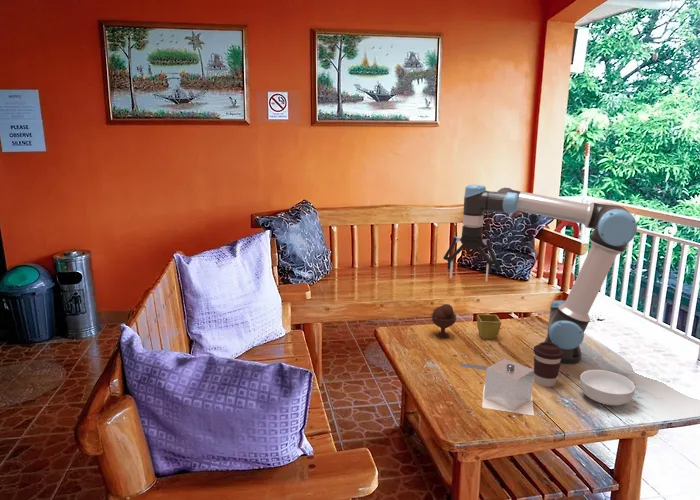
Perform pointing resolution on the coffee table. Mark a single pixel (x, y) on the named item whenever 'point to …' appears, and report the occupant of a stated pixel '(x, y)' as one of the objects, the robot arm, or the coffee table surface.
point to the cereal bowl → (607, 387)
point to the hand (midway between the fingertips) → (468, 279)
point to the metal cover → (508, 384)
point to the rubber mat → (473, 366)
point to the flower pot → (488, 325)
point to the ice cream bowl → (443, 319)
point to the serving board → (523, 409)
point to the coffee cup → (547, 363)
